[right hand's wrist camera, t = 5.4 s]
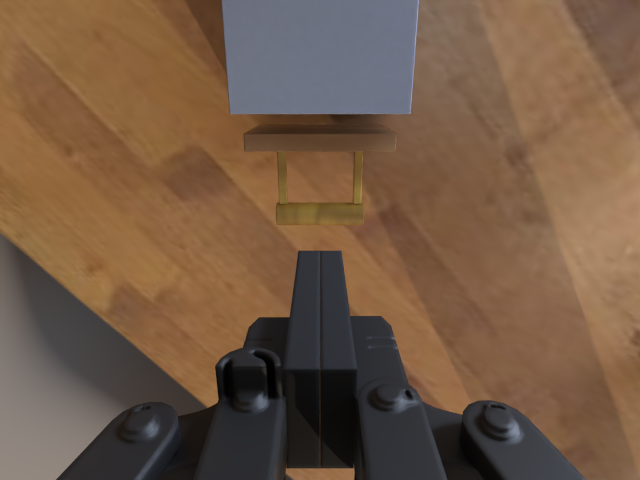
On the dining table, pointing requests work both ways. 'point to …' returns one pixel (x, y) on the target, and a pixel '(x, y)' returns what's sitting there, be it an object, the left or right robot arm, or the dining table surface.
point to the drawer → (320, 141)
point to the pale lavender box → (320, 56)
